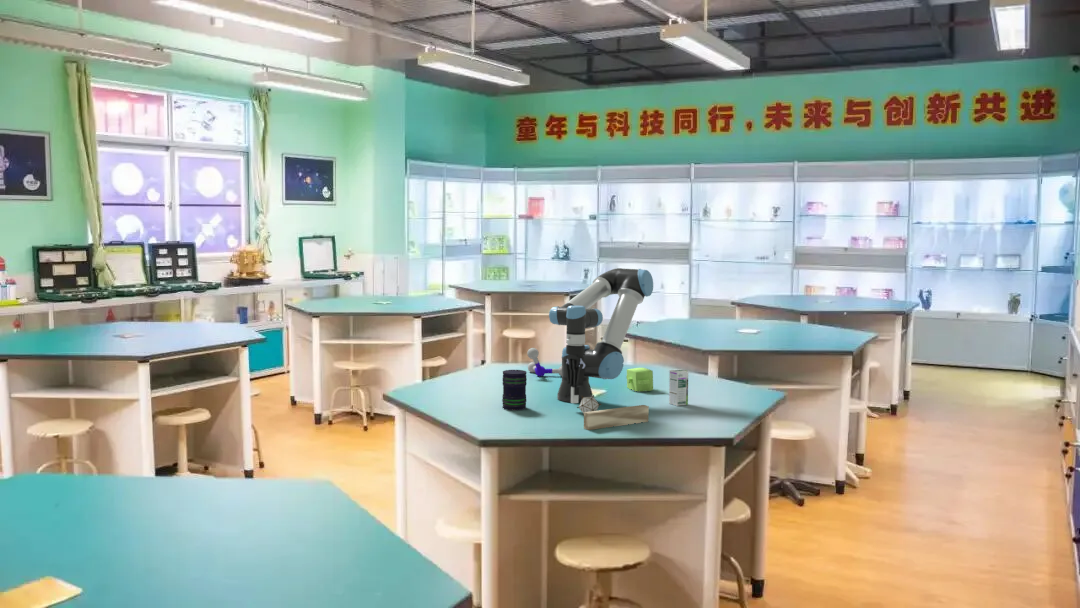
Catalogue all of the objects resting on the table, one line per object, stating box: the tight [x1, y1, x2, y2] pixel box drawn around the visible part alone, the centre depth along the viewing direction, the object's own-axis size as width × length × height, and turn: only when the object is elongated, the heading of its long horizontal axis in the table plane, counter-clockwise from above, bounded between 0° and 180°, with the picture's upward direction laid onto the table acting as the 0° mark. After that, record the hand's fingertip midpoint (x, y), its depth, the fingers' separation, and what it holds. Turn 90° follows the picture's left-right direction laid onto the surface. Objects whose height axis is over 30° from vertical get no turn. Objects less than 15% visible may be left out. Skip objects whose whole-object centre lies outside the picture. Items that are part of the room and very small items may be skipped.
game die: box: [576, 394, 602, 415], centre depth 341 cm, size 9×8×10 cm
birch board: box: [583, 404, 650, 431], centre depth 325 cm, size 3×28×6 cm, turn 122°
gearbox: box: [625, 367, 654, 392], centre depth 398 cm, size 18×10×10 cm, turn 18°
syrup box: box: [668, 368, 689, 407], centre depth 365 cm, size 6×6×14 cm
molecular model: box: [526, 347, 562, 377], centre depth 432 cm, size 21×21×15 cm
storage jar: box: [501, 369, 527, 411], centre depth 353 cm, size 10×10×15 cm
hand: (574, 402), depth 349 cm, fingers closed
